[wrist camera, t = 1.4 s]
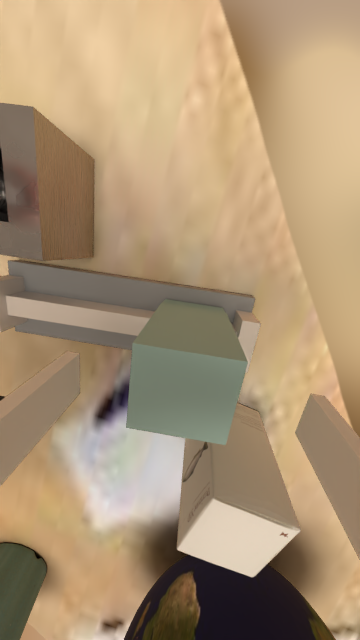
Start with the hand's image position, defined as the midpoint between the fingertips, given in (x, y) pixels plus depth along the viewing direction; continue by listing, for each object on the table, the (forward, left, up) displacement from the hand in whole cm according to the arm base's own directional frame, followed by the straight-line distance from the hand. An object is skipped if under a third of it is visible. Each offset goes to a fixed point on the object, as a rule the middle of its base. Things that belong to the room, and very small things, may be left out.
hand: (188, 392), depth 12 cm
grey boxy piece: (-16, +10, -13) cm, 23 cm away
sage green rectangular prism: (0, 0, -11) cm, 11 cm away
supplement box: (+6, -13, -13) cm, 19 cm away
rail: (-7, 0, -13) cm, 15 cm away
